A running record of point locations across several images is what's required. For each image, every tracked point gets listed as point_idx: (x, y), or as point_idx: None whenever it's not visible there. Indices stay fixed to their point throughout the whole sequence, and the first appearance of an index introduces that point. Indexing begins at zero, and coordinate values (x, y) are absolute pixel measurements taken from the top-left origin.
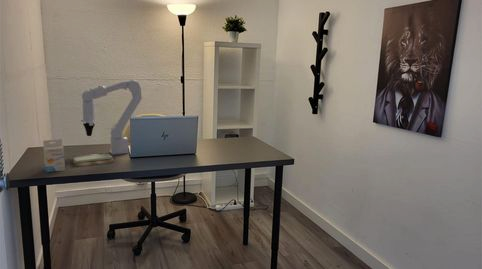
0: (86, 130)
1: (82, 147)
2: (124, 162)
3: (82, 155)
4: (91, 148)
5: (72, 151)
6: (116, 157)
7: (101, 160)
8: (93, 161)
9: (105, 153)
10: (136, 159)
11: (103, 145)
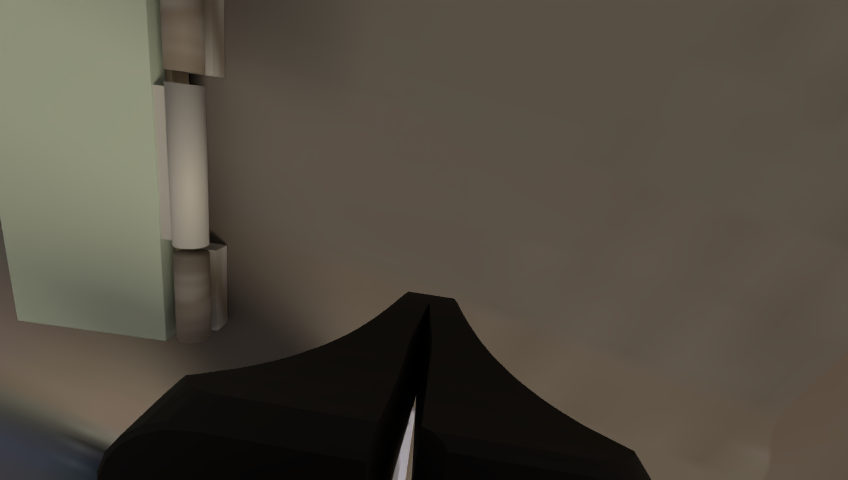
0: (347, 336)
1: (777, 252)
2: (10, 364)
3: (173, 65)
4: (655, 317)
5: (663, 84)
6: (184, 375)
7: None
8: None
9: (176, 316)
10: (68, 466)
11: (699, 458)
